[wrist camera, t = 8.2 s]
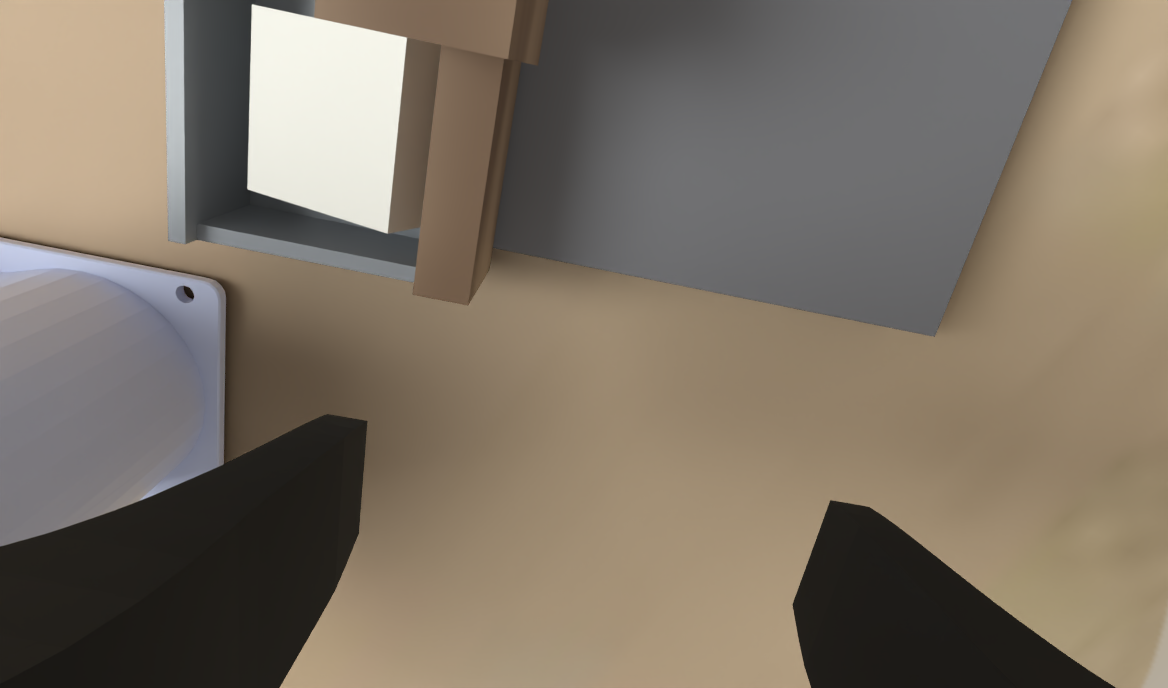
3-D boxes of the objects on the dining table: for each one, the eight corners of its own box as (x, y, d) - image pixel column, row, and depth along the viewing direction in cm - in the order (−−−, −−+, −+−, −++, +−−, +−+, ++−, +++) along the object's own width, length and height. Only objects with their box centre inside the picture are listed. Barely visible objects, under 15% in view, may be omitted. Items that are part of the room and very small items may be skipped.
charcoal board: (480, 227, 20) (467, 242, 18) (558, -300, 15) (552, -353, 14) (903, 312, 20) (934, 336, 18) (1091, -172, 16) (1156, -206, 14)
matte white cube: (335, 182, 19) (247, 189, 16) (346, 24, 18) (251, 4, 15) (460, 219, 18) (387, 233, 15) (483, 53, 16) (407, 37, 14)
